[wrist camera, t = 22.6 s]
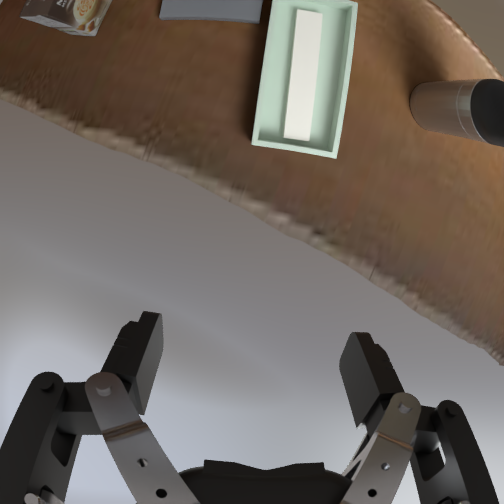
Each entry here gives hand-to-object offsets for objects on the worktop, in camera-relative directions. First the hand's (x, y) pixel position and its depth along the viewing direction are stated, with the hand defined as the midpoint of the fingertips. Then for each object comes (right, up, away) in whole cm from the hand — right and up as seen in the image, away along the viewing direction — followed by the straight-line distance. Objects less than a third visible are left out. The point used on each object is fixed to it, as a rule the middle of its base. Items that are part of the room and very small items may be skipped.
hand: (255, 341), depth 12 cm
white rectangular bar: (+8, +31, +29) cm, 43 cm away
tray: (+8, +32, +29) cm, 44 cm away
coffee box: (-28, +46, +23) cm, 59 cm away
